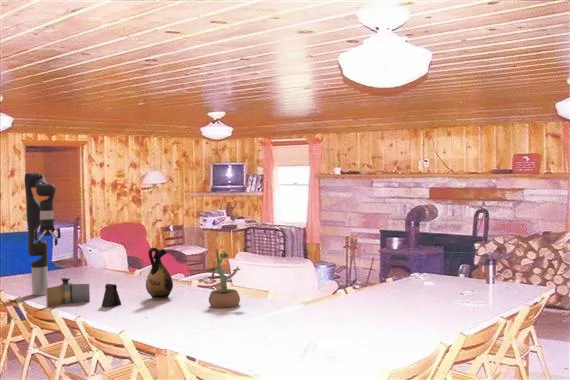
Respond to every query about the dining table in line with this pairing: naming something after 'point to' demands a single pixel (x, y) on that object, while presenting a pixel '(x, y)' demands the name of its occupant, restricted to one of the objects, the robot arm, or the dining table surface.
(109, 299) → the phone stand
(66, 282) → the hinge pin
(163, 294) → the ceramic jug
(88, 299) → the hinge
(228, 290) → the potted plant
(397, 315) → the dining table surface
